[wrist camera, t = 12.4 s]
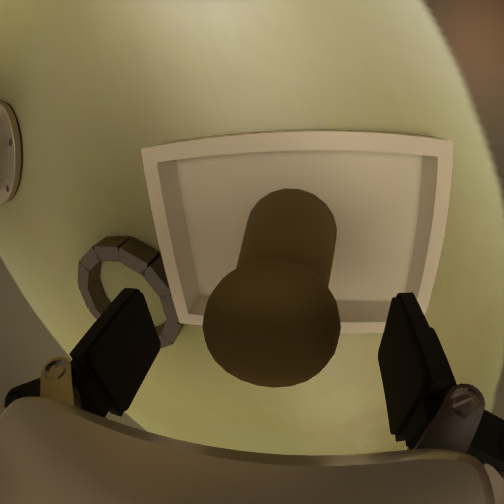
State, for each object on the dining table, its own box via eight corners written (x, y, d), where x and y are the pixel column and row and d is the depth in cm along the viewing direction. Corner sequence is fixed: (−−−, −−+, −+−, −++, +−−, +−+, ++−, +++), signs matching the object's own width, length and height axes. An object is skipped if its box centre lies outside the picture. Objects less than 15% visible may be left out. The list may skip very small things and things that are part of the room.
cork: (346, 199, 17) (384, 307, 7) (324, 280, 20) (323, 417, 10) (252, 180, 18) (176, 263, 8) (241, 263, 20) (182, 385, 11)
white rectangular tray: (193, 300, 24) (179, 323, 21) (163, 143, 18) (140, 148, 15) (410, 306, 20) (419, 331, 17) (432, 136, 14) (453, 140, 12)
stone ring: (111, 327, 28) (101, 338, 27) (77, 237, 24) (64, 246, 22) (198, 342, 26) (191, 357, 24) (173, 235, 21) (161, 246, 19)
